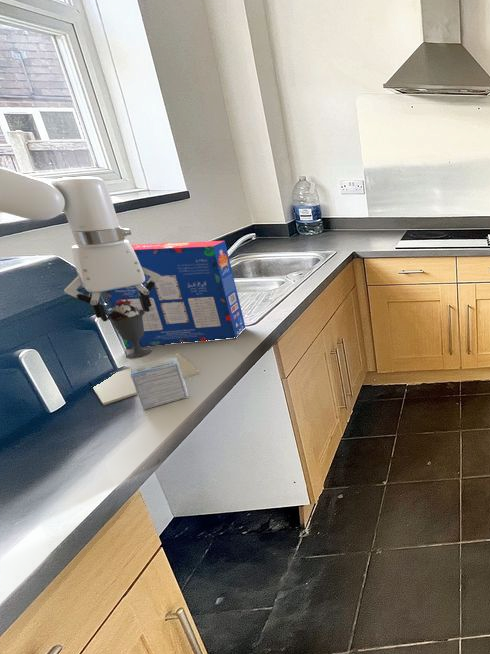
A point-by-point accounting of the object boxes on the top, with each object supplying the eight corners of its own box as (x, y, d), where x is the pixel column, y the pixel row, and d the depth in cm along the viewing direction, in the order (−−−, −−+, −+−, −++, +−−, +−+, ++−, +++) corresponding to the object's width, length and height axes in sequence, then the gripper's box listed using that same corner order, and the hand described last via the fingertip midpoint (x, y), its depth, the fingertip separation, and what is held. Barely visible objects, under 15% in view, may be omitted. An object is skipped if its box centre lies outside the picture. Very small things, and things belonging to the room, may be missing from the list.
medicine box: (187, 389, 96) (177, 356, 93) (188, 397, 93) (178, 363, 90) (143, 401, 92) (130, 367, 89) (142, 411, 88) (130, 375, 85)
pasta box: (245, 328, 130) (224, 240, 121) (236, 339, 123) (213, 246, 114) (142, 337, 124) (111, 245, 115) (125, 348, 117) (91, 251, 108)
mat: (103, 405, 90) (102, 403, 90) (89, 382, 99) (88, 380, 99) (200, 373, 104) (199, 371, 103) (179, 355, 113) (179, 353, 113)
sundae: (150, 345, 102) (131, 288, 97) (162, 352, 99) (143, 292, 94) (115, 356, 97) (93, 295, 92) (127, 363, 94) (105, 300, 89)
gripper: (146, 230, 97) (167, 301, 103) (38, 241, 84) (69, 322, 90) (155, 233, 93) (177, 308, 99) (42, 246, 80) (76, 331, 86)
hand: (125, 314), depth 95 cm, fingers closed on sundae, 6 cm apart
